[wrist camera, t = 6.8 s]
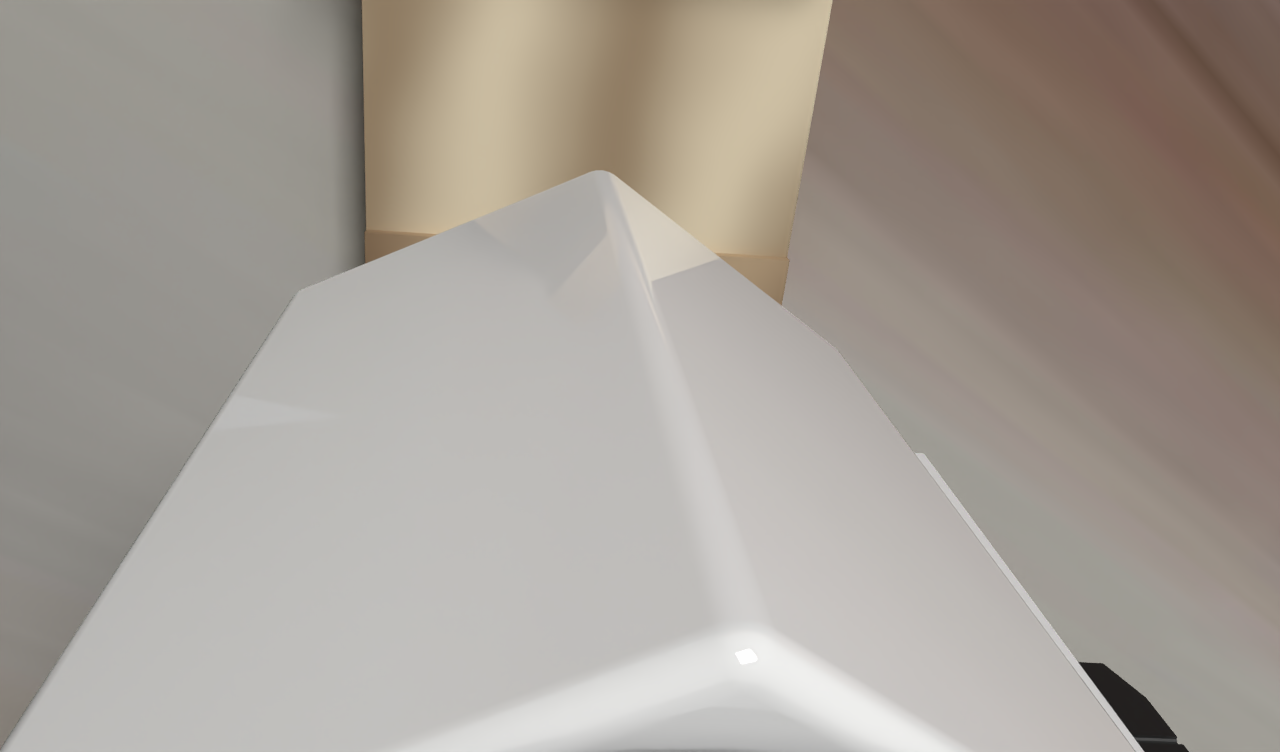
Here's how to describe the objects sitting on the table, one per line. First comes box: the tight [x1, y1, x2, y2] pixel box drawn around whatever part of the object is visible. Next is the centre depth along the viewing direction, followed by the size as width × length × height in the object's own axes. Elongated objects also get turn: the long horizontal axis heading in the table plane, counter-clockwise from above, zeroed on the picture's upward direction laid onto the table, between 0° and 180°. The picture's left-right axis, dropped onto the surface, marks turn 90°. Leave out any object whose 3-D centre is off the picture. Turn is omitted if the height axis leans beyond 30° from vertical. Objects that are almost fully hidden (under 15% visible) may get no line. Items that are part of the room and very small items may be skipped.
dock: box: [362, 0, 833, 305], centre depth 25 cm, size 12×12×4 cm
